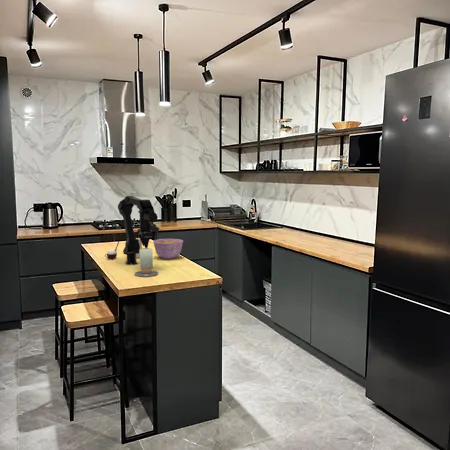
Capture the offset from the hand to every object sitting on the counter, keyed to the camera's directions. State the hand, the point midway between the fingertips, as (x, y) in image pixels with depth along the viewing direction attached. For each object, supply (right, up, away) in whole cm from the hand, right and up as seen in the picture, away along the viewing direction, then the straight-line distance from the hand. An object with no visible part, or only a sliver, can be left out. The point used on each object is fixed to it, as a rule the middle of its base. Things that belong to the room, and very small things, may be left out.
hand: (145, 246), depth 249 cm
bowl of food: (+9, -9, +33) cm, 36 cm away
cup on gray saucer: (+3, -15, -13) cm, 20 cm away
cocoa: (-27, -10, +29) cm, 41 cm away
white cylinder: (+3, -11, -13) cm, 17 cm away
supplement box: (-13, -9, +34) cm, 37 cm away
